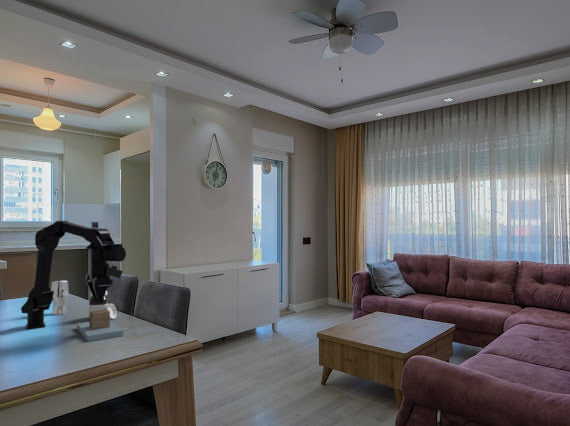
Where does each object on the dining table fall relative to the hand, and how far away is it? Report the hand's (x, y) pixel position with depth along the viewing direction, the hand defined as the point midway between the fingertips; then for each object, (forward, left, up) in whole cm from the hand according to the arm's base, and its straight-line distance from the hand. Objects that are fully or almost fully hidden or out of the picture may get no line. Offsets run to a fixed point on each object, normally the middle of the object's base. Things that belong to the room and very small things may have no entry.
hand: (98, 301), depth 148 cm
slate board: (+1, +1, -12) cm, 12 cm away
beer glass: (-45, -7, -12) cm, 48 cm away
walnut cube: (0, +1, -10) cm, 10 cm away
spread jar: (-22, +7, -12) cm, 26 cm away
